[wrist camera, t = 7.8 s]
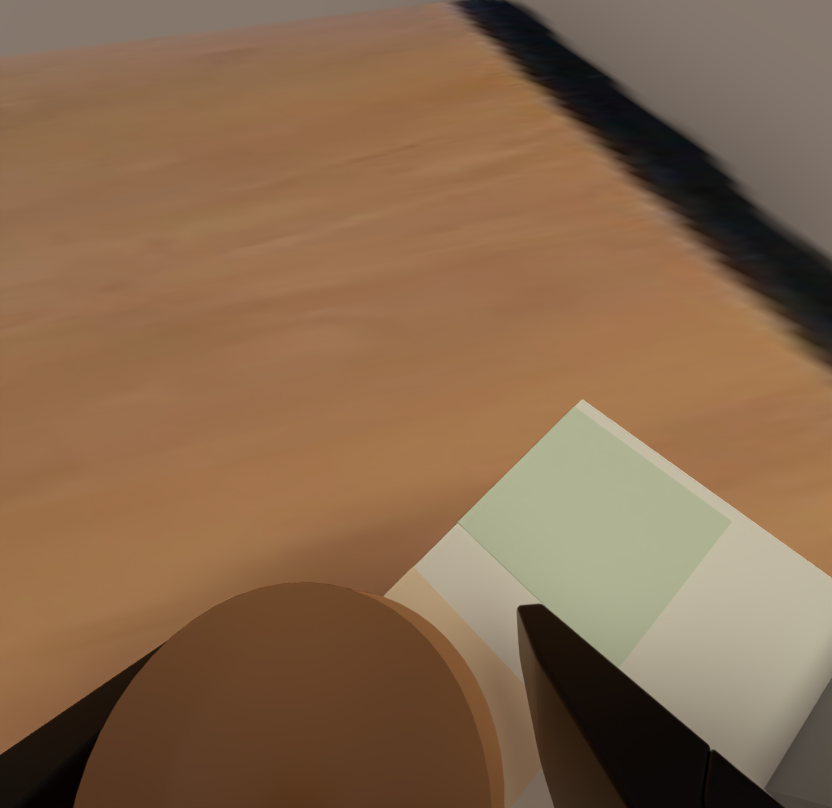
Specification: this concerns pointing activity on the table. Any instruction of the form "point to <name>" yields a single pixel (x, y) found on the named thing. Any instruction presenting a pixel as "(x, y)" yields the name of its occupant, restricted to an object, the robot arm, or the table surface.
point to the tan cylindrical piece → (300, 712)
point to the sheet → (640, 605)
